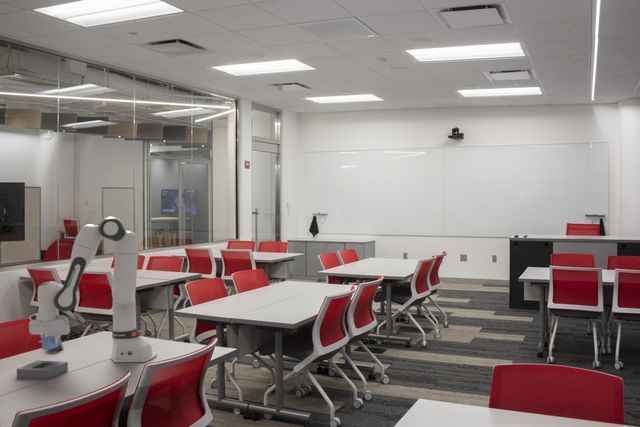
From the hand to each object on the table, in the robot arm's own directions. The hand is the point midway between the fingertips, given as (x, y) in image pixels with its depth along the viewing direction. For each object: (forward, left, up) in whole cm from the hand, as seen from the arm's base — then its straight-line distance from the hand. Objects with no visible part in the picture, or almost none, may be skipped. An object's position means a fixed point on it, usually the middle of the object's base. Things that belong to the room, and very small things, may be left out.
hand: (50, 343), depth 284 cm
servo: (0, 0, -2) cm, 2 cm away
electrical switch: (+17, -26, -11) cm, 32 cm away
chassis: (-6, +14, -10) cm, 19 cm away
